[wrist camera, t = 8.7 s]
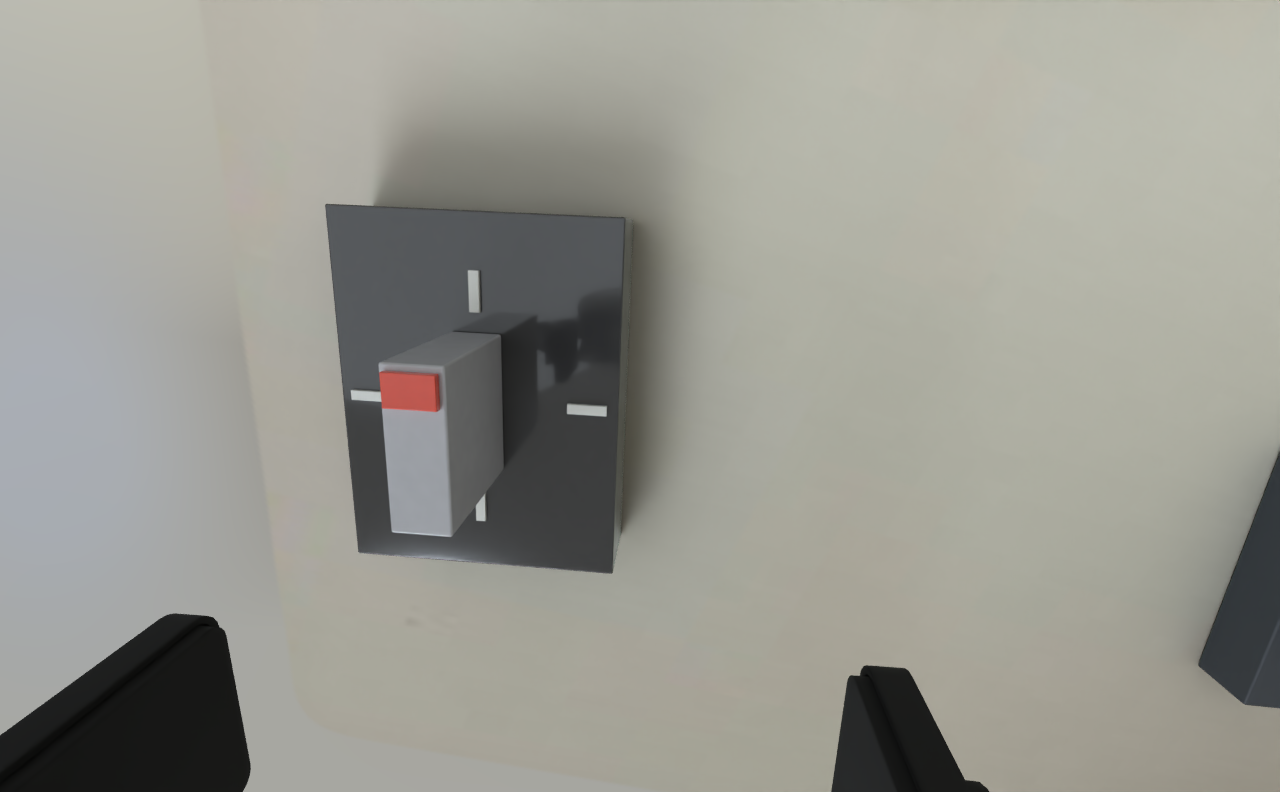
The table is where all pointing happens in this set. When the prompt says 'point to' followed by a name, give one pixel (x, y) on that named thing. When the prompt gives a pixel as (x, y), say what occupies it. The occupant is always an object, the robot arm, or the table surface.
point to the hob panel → (531, 369)
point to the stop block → (1252, 613)
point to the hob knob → (442, 430)
